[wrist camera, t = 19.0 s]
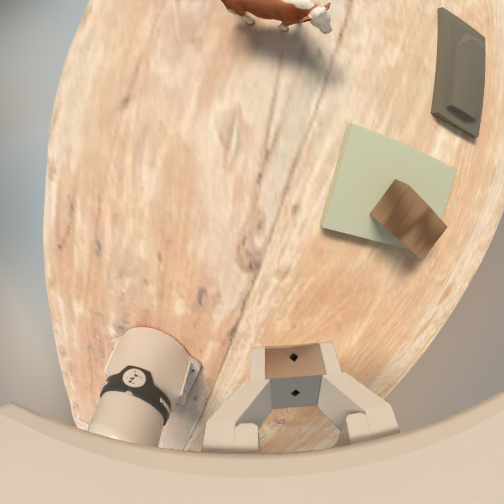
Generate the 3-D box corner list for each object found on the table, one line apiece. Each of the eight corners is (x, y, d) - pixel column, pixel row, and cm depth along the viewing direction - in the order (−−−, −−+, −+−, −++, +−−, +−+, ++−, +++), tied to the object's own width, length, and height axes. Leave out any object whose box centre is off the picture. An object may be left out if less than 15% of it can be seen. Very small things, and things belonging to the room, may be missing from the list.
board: (421, 249, 38) (426, 255, 37) (319, 222, 37) (322, 227, 36) (449, 167, 33) (456, 169, 31) (347, 123, 32) (351, 123, 30)
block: (369, 213, 34) (410, 249, 36) (380, 223, 31) (422, 261, 33) (395, 178, 32) (433, 218, 34) (409, 185, 29) (448, 227, 30)
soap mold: (480, 39, 22) (492, 37, 19) (472, 137, 31) (485, 140, 27) (435, 9, 22) (446, 3, 19) (426, 112, 30) (439, 112, 27)
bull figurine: (318, 51, 28) (333, 32, 20) (219, 19, 26) (209, -7, 19) (329, 27, 26) (345, 4, 18) (232, -5, 24) (225, -33, 17)
